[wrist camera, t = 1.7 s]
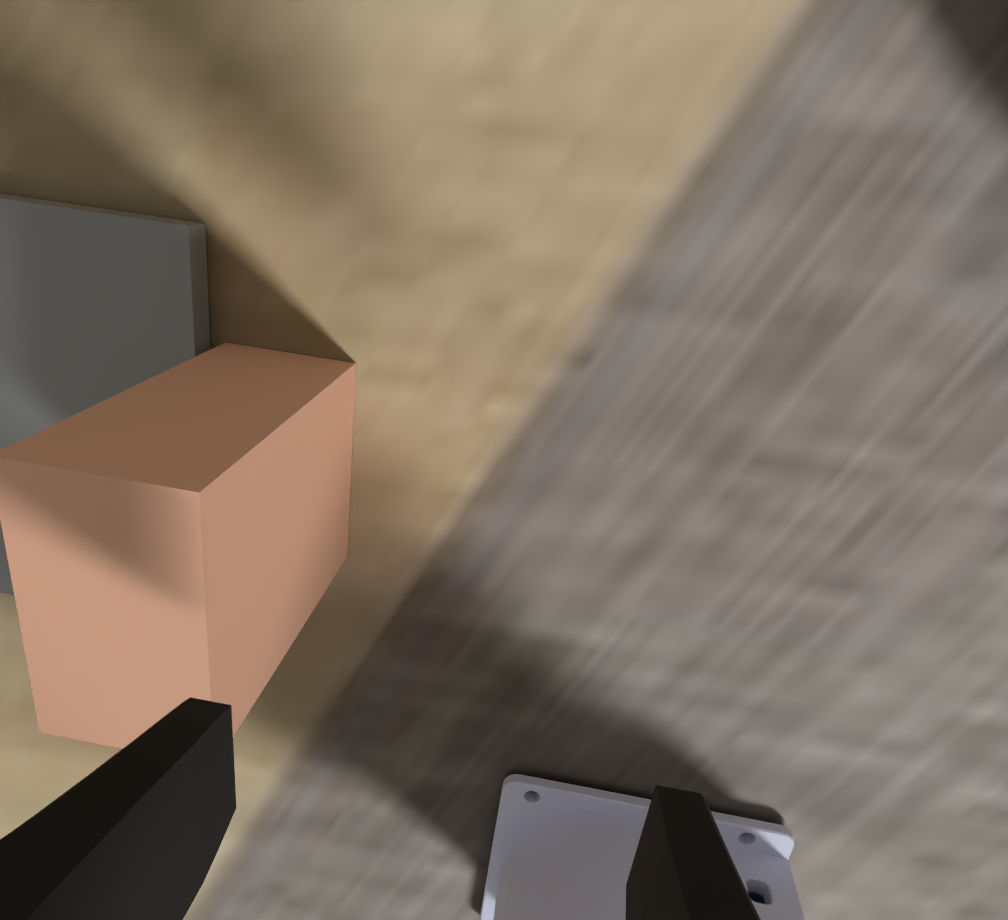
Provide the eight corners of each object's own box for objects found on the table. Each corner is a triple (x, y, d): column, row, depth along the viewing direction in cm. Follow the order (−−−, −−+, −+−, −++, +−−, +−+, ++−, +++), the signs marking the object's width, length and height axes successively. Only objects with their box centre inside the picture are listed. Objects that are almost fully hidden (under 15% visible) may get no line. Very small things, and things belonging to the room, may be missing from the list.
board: (205, 223, 18) (188, 226, 17) (222, 615, 22) (209, 631, 22) (-93, 179, 18) (-122, 180, 17) (-14, 572, 23) (-34, 585, 22)
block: (355, 363, 19) (199, 492, 11) (347, 556, 21) (214, 766, 14) (225, 342, 19) (-12, 456, 11) (232, 536, 21) (39, 732, 14)
